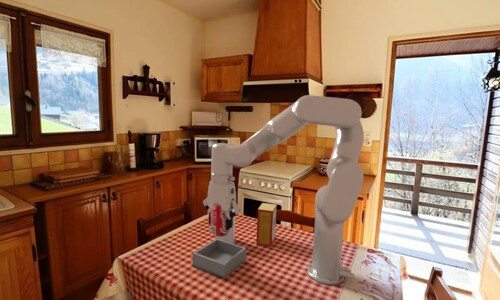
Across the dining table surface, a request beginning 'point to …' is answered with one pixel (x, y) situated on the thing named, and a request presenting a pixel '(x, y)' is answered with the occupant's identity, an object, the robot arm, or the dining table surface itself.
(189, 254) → the dining table surface
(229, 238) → the milk carton
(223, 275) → the bin
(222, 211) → the soda can
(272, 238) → the baking soda box
